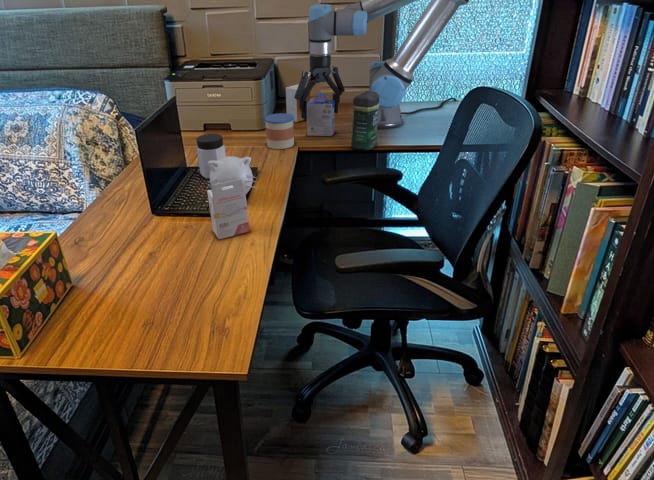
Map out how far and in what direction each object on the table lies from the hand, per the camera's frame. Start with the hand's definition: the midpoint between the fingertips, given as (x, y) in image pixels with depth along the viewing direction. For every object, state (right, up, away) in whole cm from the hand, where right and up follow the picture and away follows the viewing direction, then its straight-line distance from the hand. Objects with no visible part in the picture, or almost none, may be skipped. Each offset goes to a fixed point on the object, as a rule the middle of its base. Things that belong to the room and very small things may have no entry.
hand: (319, 115), depth 186 cm
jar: (-36, -27, -25) cm, 51 cm away
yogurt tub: (-15, -12, -4) cm, 19 cm away
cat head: (-28, -37, -40) cm, 61 cm away
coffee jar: (+15, -14, -10) cm, 23 cm away
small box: (-7, +5, +21) cm, 23 cm away
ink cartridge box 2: (+1, -6, +4) cm, 7 cm away
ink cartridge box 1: (-27, -48, -58) cm, 80 cm away
